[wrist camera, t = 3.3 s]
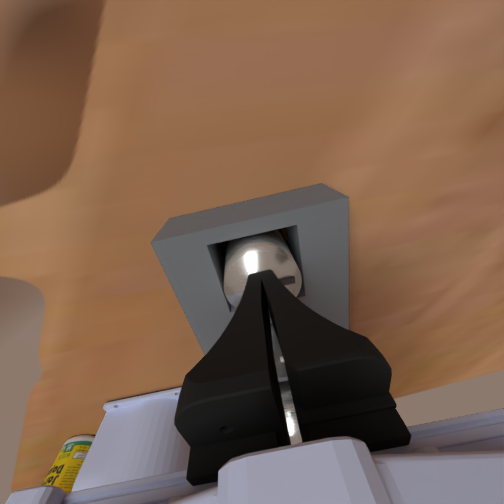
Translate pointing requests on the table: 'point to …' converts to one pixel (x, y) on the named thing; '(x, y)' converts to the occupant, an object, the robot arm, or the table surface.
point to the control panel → (249, 223)
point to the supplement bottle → (69, 462)
